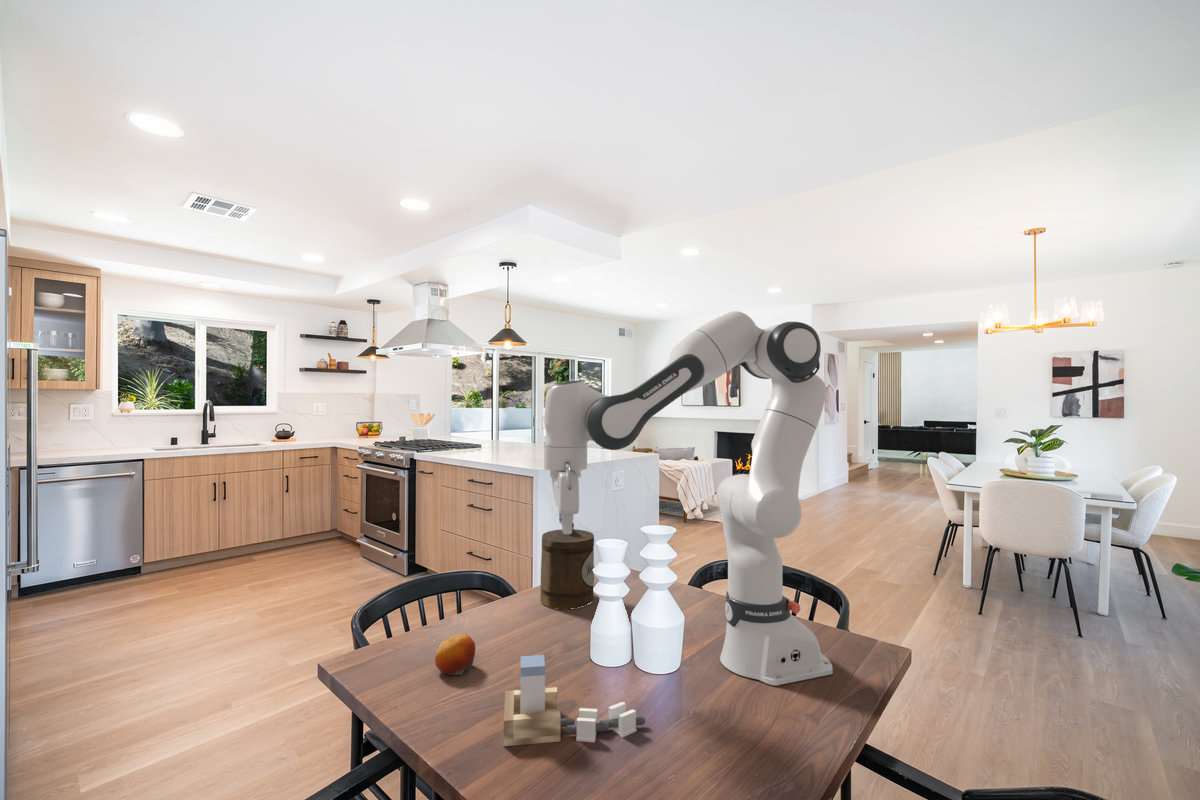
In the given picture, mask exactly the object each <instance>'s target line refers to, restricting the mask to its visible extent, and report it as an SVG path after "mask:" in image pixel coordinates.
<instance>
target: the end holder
mask: <svg viewBox="0 0 1200 800" xmlns="http://www.w3.org/2000/svg"><path fill="white" fill-rule="evenodd" d="M504 692H505V694H504V710H503V711H504V712H503V747H511V746H520V745H521V746H522V745H523V746H524V745H532V744H545V743H554V742H555V743H556V742H561V727H560V721H561V719H562V718H561V717H562V716H561V711H560V710H558V687H556V686H555V687H545V712H541V713H529V714H520V689H514V690H505V691H504Z"/></svg>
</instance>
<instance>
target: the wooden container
mask: <svg viewBox="0 0 1200 800" xmlns="http://www.w3.org/2000/svg"><path fill="white" fill-rule="evenodd" d="M574 527H575V524H574V522H573V523H572V533H571V534H563V531H562V529H555V530H554V529H553V530H548V531H546V532H544V533H542V536H541V557H540V558H541V560H540V561H541V562H540V602H542V603H541V604H542V605H543V604H544V605H543V606H545V605H546V606H545V607H547V606H548V607H547V608H550V607H552V608H551V609H554V608H558V609H557V610H561V609H571V608H578V607H581V606H585V605H587V604H588V603H590V602H592V601H593V602H594V593H593V587H595V572H594V573H593V571H592V569H593V568H594V569H595V563H594V562H595V559H594V558H595V556H594V554H595V552H594V551H595V550H594V547H595V534H594V533H593V532H592V531H591V532H590V531H588V530H583V529H576V528H574ZM593 602H592V603H593ZM571 610H572V609H571Z"/></svg>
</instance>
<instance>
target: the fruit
mask: <svg viewBox="0 0 1200 800" xmlns="http://www.w3.org/2000/svg"><path fill="white" fill-rule="evenodd" d="M434 656H435V658H434V663H435V666H436V668H437V669H438V670H439V671H440V673H442V674H444V675H446V676H447V675H448V676H454V675H461V676H463V673H464V672H465V670H467V668H474V669H476V667H475V666H474V665H473V663H474V661H475V660H474V659H475V656H476V643H475V640H474V639H473V638H472V637H471V636H470V635H468V634H467V633H463V634H462V633H458V634H456V635H452V637H448V638H447V639H445V640H443V641H442V642H440V644H439V647H438V648H437V650H436V654H435V655H434Z"/></svg>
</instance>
